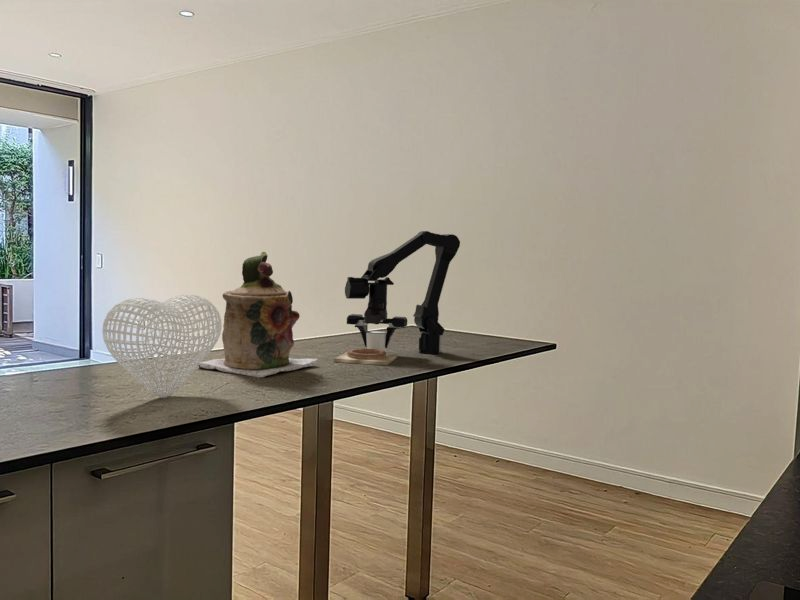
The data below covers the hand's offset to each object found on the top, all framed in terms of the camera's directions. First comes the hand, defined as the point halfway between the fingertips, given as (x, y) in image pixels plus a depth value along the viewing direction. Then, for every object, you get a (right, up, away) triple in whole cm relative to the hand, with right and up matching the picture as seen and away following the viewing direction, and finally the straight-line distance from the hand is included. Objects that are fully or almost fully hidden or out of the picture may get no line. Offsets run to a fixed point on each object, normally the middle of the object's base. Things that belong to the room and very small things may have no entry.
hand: (376, 347), depth 228 cm
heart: (-44, -6, -71) cm, 84 cm away
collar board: (-3, -3, -12) cm, 13 cm away
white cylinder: (0, -2, 0) cm, 2 cm away
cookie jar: (-32, -4, -30) cm, 44 cm away
